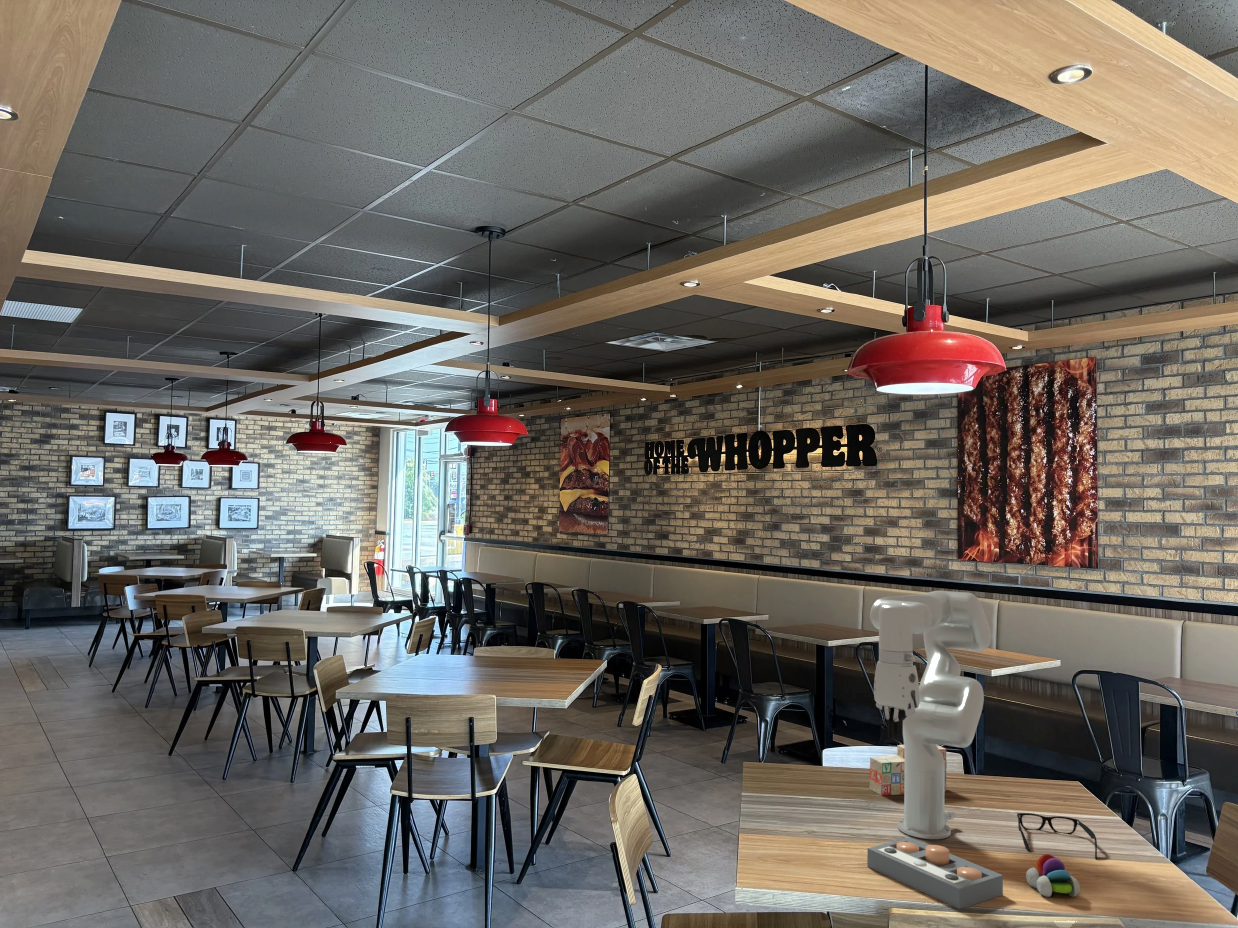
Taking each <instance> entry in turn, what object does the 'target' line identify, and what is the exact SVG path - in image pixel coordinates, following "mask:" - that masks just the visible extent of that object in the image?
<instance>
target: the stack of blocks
mask: <svg viewBox="0 0 1238 928" xmlns="http://www.w3.org/2000/svg"><path fill="white" fill-rule="evenodd" d="M936 746H937V747H938V749H939V750H940V752H941V754H942V756H943V759H944V765H945V770H944V792H946V791H947V768H948V767H947V764H948V763H947V761H948V760H947V748H945V747H943V746H940V745H939V744H936ZM896 747H897V749H896V750H897V751H896V752H897V753H896V754H897V755H883V756H870V757H869V789H870V791H873V792H874V793H876V794H877V795H880V796H889V795H890V796H894V795H904V765H905V757H904V744H899V745H898V744H897V746H896Z"/></svg>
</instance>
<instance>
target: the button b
mask: <svg viewBox="0 0 1238 928" xmlns="http://www.w3.org/2000/svg"><path fill="white" fill-rule="evenodd" d="M927 845H928V846H926V861H927V862H929V863H932V864H934V865H936V866H939V867H941V866H945V865H948V864H949V853H950V849H948V847H946V846H944V845H942V846H941V845H938V844H927Z"/></svg>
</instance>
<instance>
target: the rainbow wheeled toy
mask: <svg viewBox="0 0 1238 928" xmlns="http://www.w3.org/2000/svg"><path fill="white" fill-rule="evenodd" d="M1025 877H1026V881H1027V883H1028V885H1029V886H1031V887H1032V888H1035V889H1037V891H1038V892H1039V894H1041V895H1042V896H1044V897H1046V898H1050V897H1052V894H1053V892H1054V893H1059V894H1068V896H1070V897H1072V898H1074V897H1076V896H1078V895H1079V893H1080V892H1081V885H1080V882H1079V881H1078V879H1076V878H1075V876H1072V875H1071V874H1070V872H1069V871H1067V870H1066V866H1065V864H1064V862H1063V861H1062V860H1061V859H1059V858H1056V857H1055V856H1053V855H1052V854H1050V853H1049V854H1048V853H1045V854H1042V855H1041V856H1040V857H1039V858H1038V859H1037V860H1036V861H1035V863H1034V867H1029V869H1027V871H1026V873H1025Z"/></svg>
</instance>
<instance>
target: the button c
mask: <svg viewBox="0 0 1238 928" xmlns="http://www.w3.org/2000/svg"><path fill="white" fill-rule="evenodd" d="M957 875H960V876H962V877H964V878H967V879H969V880H971V881H974V880H977V879H980V878H982V873H981V872H980V871H979V870H977V869H974V868H970V867H959V868H957Z"/></svg>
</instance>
